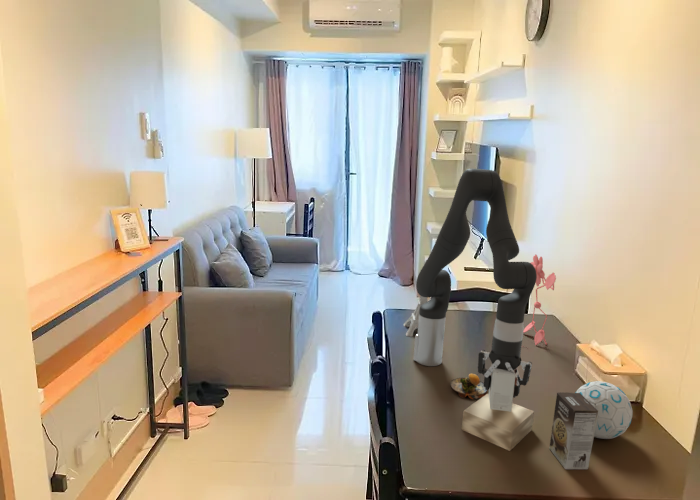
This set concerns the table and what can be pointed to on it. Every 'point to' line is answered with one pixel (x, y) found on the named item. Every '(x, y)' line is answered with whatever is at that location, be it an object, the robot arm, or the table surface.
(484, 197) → the robot arm
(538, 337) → the pink flower figurine
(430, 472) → the table surface
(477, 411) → the maple block
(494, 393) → the small box
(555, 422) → the coffee box
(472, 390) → the plate of food
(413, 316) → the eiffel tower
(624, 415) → the white soccer ball
